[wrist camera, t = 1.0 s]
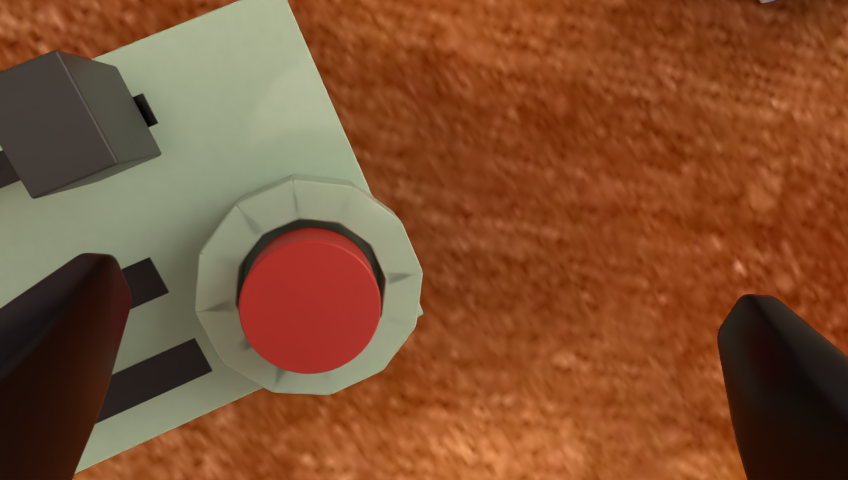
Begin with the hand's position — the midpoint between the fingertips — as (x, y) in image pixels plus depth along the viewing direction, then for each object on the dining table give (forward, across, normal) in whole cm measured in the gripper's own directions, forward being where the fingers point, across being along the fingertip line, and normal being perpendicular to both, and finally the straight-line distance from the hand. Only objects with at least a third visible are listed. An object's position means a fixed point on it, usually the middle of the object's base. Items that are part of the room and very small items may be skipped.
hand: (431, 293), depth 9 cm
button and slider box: (+11, +10, +10) cm, 18 cm away
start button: (+7, +3, +8) cm, 11 cm away
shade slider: (+8, +9, +3) cm, 12 cm away
